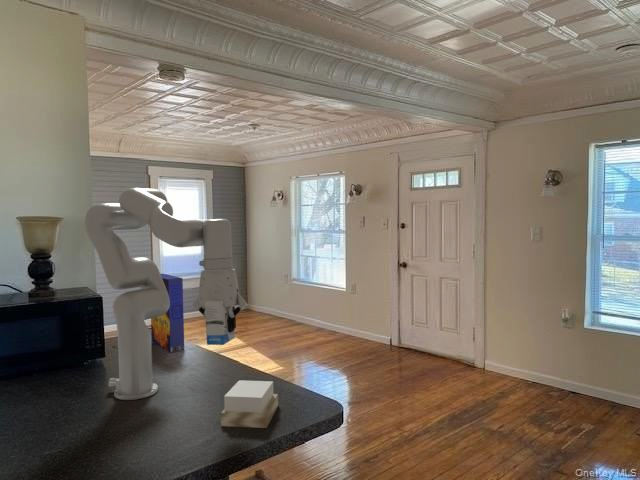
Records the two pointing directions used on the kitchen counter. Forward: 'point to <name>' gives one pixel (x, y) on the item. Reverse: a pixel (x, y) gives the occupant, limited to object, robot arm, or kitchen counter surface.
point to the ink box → (217, 323)
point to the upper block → (249, 396)
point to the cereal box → (170, 318)
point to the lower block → (250, 416)
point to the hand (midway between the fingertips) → (221, 330)
